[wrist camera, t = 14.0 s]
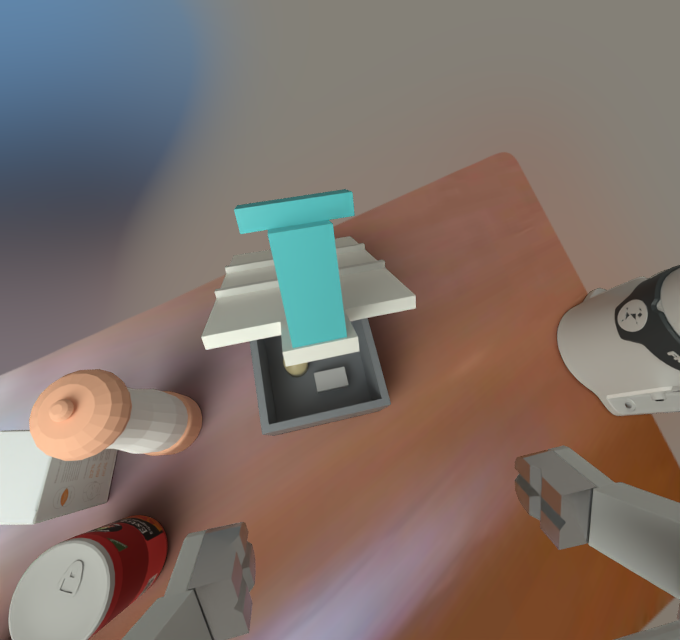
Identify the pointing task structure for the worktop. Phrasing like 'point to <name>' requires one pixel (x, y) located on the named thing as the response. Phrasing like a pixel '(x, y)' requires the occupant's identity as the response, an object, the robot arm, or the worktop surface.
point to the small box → (48, 481)
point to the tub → (317, 385)
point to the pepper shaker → (111, 418)
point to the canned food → (87, 580)
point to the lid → (302, 281)
